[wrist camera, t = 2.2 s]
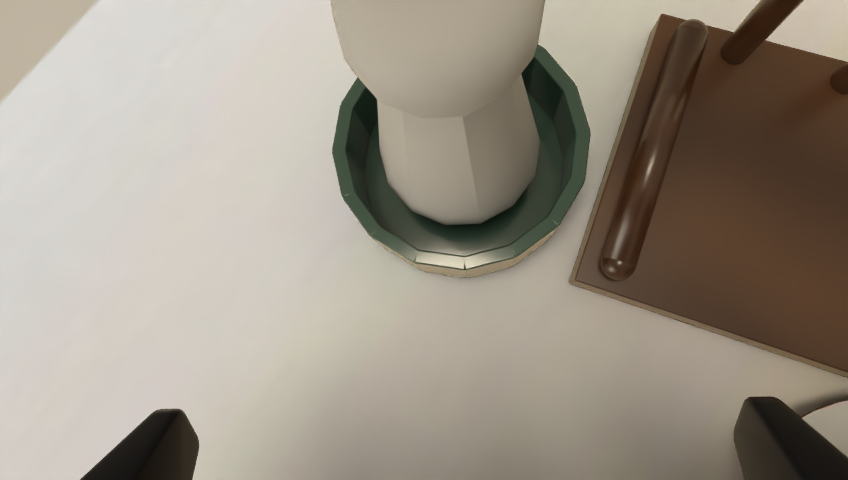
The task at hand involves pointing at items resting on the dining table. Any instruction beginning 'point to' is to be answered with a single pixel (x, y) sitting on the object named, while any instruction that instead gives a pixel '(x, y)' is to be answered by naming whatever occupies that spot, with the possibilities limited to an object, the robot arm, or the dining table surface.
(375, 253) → the dining table surface
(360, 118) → the holder
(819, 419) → the mug
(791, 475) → the robot arm
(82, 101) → the dining table surface
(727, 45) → the rack
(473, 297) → the dining table surface
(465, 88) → the salt shaker
